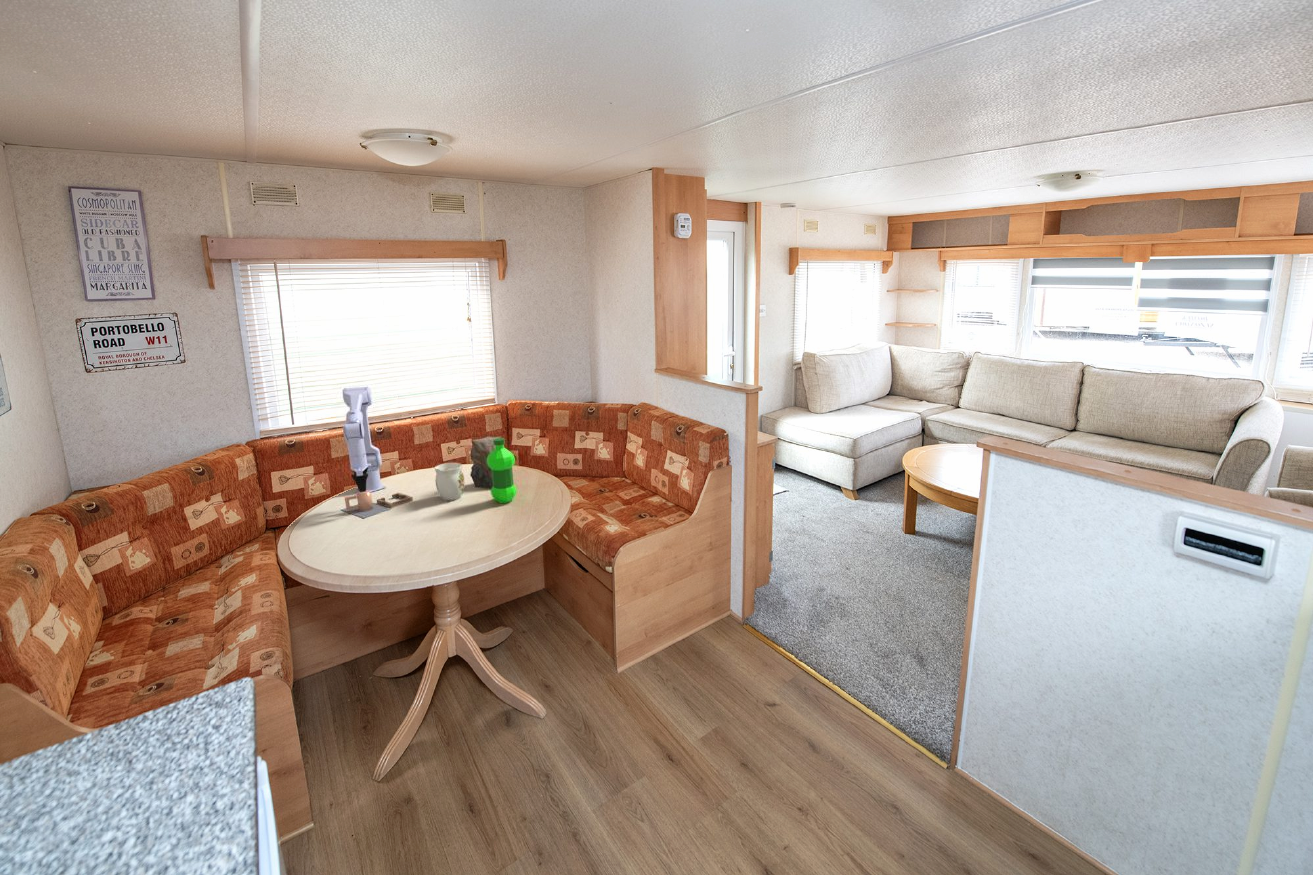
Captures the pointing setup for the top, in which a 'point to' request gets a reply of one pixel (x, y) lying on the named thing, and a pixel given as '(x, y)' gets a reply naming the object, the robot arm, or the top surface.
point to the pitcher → (450, 480)
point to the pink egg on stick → (360, 501)
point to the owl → (482, 462)
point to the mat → (366, 514)
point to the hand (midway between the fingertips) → (362, 488)
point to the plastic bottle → (502, 472)
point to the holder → (404, 500)
